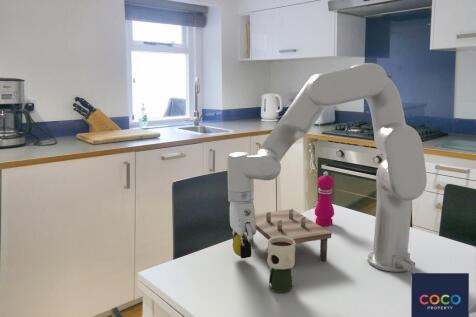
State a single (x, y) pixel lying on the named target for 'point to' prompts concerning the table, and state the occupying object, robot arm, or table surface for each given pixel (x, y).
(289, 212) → the peg shelf
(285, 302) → the table surface
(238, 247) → the lemon
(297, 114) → the robot arm
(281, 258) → the character mug
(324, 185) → the pepper mill
